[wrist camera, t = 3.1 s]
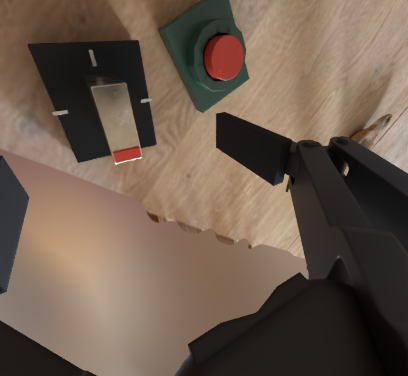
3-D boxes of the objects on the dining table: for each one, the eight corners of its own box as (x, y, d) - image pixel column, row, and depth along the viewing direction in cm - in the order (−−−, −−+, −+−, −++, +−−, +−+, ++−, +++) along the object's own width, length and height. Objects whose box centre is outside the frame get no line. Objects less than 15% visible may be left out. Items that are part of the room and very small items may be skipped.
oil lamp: (325, 157, 57) (362, 173, 50) (381, 101, 57) (427, 109, 50) (328, 174, 63) (362, 191, 56) (379, 124, 63) (420, 134, 55)
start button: (197, 48, 24) (205, 48, 23) (227, 27, 25) (237, 26, 23) (212, 85, 28) (219, 87, 26) (238, 66, 28) (247, 67, 27)
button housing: (157, 29, 25) (169, 27, 22) (216, -11, 26) (235, -18, 23) (196, 110, 32) (209, 116, 29) (241, 77, 33) (258, 80, 30)
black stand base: (26, 44, 20) (21, 44, 18) (136, 40, 24) (142, 40, 22) (74, 156, 27) (75, 164, 25) (153, 138, 31) (159, 144, 29)
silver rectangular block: (83, 74, 21) (90, 87, 15) (110, 72, 22) (127, 83, 16) (103, 135, 25) (115, 165, 19) (125, 131, 26) (143, 158, 20)
